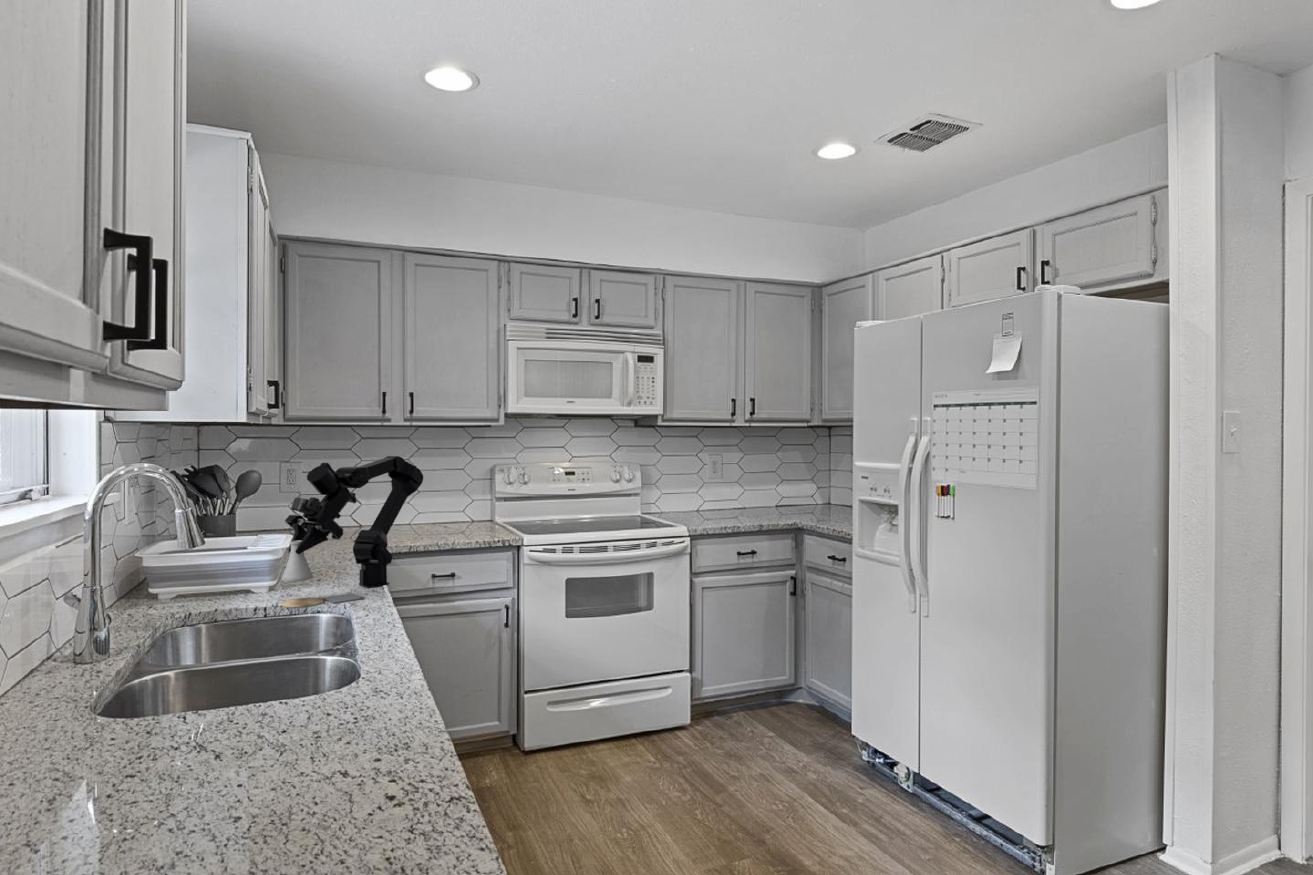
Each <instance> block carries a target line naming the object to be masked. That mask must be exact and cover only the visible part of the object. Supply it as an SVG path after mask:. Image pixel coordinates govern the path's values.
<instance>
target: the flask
mask: <svg viewBox="0 0 1313 875" xmlns="http://www.w3.org/2000/svg"><path fill="white" fill-rule="evenodd" d="M300 543H301V540H296V541H292V540H291V541H289V545H290V544H291V552H289V558H288V561H287V564H286V566H285V569H284V572H283V574H282V577H281V579H280V581H282V582H287V583H289V582H290V583H292V582H293V583H294V582H295V583H296V582H297V583H298V582H305V581H309V580H311V579H313V578H314V576H313V573H312V571H311V568H310V565H309V564H308V561H307V559H306V555H305V551H304V552H302V553H300V554H297V553H296V552H295V551H296V549H297V548H298V546H299V544H300Z"/></svg>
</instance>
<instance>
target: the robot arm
mask: <svg viewBox="0 0 1313 875" xmlns="http://www.w3.org/2000/svg"><path fill="white" fill-rule="evenodd" d="M384 474H387V475H388V476H387V477H389V478H390V479H391V481H390V484H391V490H390V493H389V494H388V496H387V498H386V499H385V502H384V504H383V505H382V507H381V509H380V511H379V513H378V514H377V516H376V518H375V520H374V522H373V523H372V525H371V527H370V528H369V529H360V531H359V532H358V534H357V537H356V539H354V540H353V541H354V544H353V546H352V552H353V555H354V558H355V560H354V561H355V562H356V563H355V564H356V565H360V569H359V573H358V574H359V575H358V576H359V583H358V585H359V586H361V587H364V588H367V589H368V588H375V587H381V586H383V587H384V586H389V585H390V582H387V581H388V576H387V574H388V570H387V568H388V567H387V566H388V565H389V564H391V563H392V560H393V554H391V552H390V551H389V550H388V549H387V548H388V546H389V544H388V537H387V536H388V534H389V532H390V530H391V528H392V526H393V524H394V523H395V521H396V518H397V517H398V515H399V513H400V512H401V510H402V508H403V506H404V505H405V502H406V501H407V498H408V497H410V496H411V495H413V494H414V493H415V492H417V491H418V489H419V488H420V487H421V485H422V484H423V482H424V481H423V480H424V474H423V472H422V471H421V470H420V468H417V467H416V466H415V464H412V463H410V462H408V461H406V460H405V459H404V458H403V457H401V456H399V455H388V456H385V457H383V458H381V459H377V460H375V461H372V462H369V463H366V464H363V465H358V466H343V467H342V466H341V467H339V468H337V469H336V471H335V470H334V469H333V468H332V467H331V464H330V463H329V462H321V464H320V465H318V466H316V467H313V469H312V470H310V471H309V472H308V473H307V475H306V480H307V481H308V483H309V484H311V486H312V487H313V488H314V489H315V490H316V491H317V492H318V494H320V495H322V496H323V498H322V499H321V500H320V498H318V497H313V496H311V497H310V498H309V499H307V498H302V497H294V499H293V501H292V502H293V503H292V504H291V507H290V510H292V511H296V512H299V513H301V514H302V515H301V514H299V515H298V514H289V515H288V516H287V517H286V518H285V520H284V522H285V523H286V524H287V525H288V526H290V528H292V529H293V530H294V534H293V537H292V540H291V541H296V540H301V543H300V544H299V546H298V548H297V549H296V551H295V552H296V553H297V554H300V553H302V552H304V553H305V552H306V551H308V550H310V549H311V548H314V547H315V546H317V545H319V544H322V543H324V542H327V541H329V538H328V537H329V535H330V534H331V539H333V540H338V541H339V540H340V539H341V538H342V537H343V535H344V528H342V526H341V525H339V524H338V522H336V521H335V519H340V518H341V517H342V515H341V514H340V513H341V512H342V510H343V509H344V508H345V506H347V504H348V503H352V504H357V498H356V496H357V494H356V492H351V491H350V490H349V489H361V488H362V487H364V486H366V485H367V484H368V483H369V481H370V480H372V479H375V478H376V477H380V476H382V475H384ZM287 551H288V552H289V553H290V552H291V544H290V543H289V547H288V550H287Z"/></svg>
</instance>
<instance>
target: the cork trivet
mask: <svg viewBox="0 0 1313 875" xmlns="http://www.w3.org/2000/svg"><path fill="white" fill-rule="evenodd" d="M324 601H325V600H324V599H322V598H321V597H308V596H307V597H298V598H292V599H287V600H284V601H282V602H281V603H280V605H281V607H283V608H306V607H308V608H309V607H313V606H317V605H322V604H323V603H324Z"/></svg>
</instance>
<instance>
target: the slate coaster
mask: <svg viewBox="0 0 1313 875" xmlns="http://www.w3.org/2000/svg"><path fill="white" fill-rule="evenodd" d="M365 598H366V597H364V596H362V595H358V594H356V593H354V592H351V593H344V594H337V595H329V596H323V597H322V599H324V601H326V602H328V603H331V604H333V605H334V604H335V605H336V604H341V603H343V604H344V603H348V602H353V601H354V602H356V601H361V600H365Z"/></svg>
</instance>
